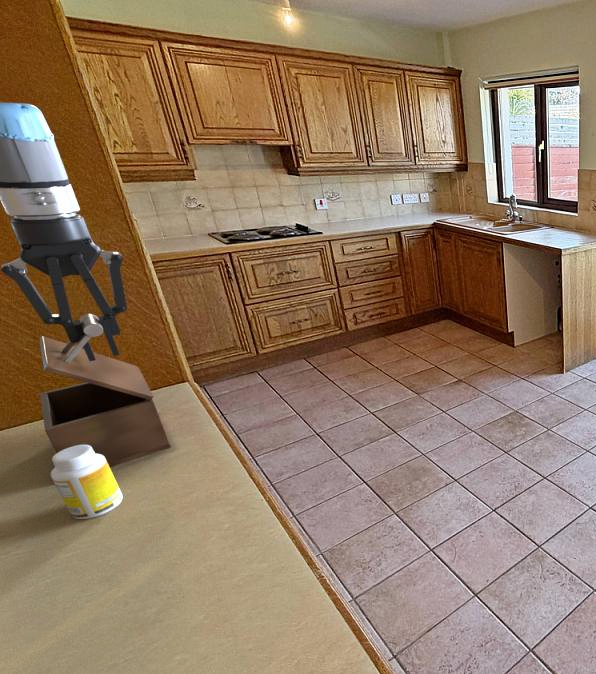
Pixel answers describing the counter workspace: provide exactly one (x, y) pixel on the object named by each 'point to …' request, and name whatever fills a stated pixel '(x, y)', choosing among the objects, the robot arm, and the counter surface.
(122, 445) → the chest
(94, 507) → the supplement bottle
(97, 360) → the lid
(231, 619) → the counter surface
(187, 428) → the counter surface
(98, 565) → the counter surface
